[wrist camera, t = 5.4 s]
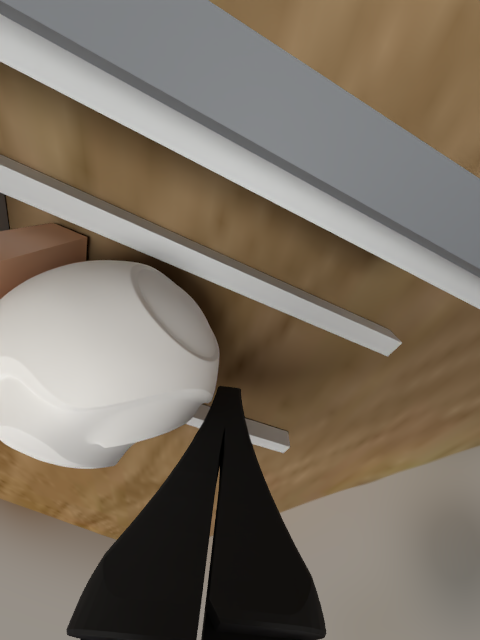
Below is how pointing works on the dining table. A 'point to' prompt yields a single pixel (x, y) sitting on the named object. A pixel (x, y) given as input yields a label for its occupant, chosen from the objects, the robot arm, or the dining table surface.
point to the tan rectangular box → (37, 252)
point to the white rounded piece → (100, 361)
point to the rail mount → (244, 150)
